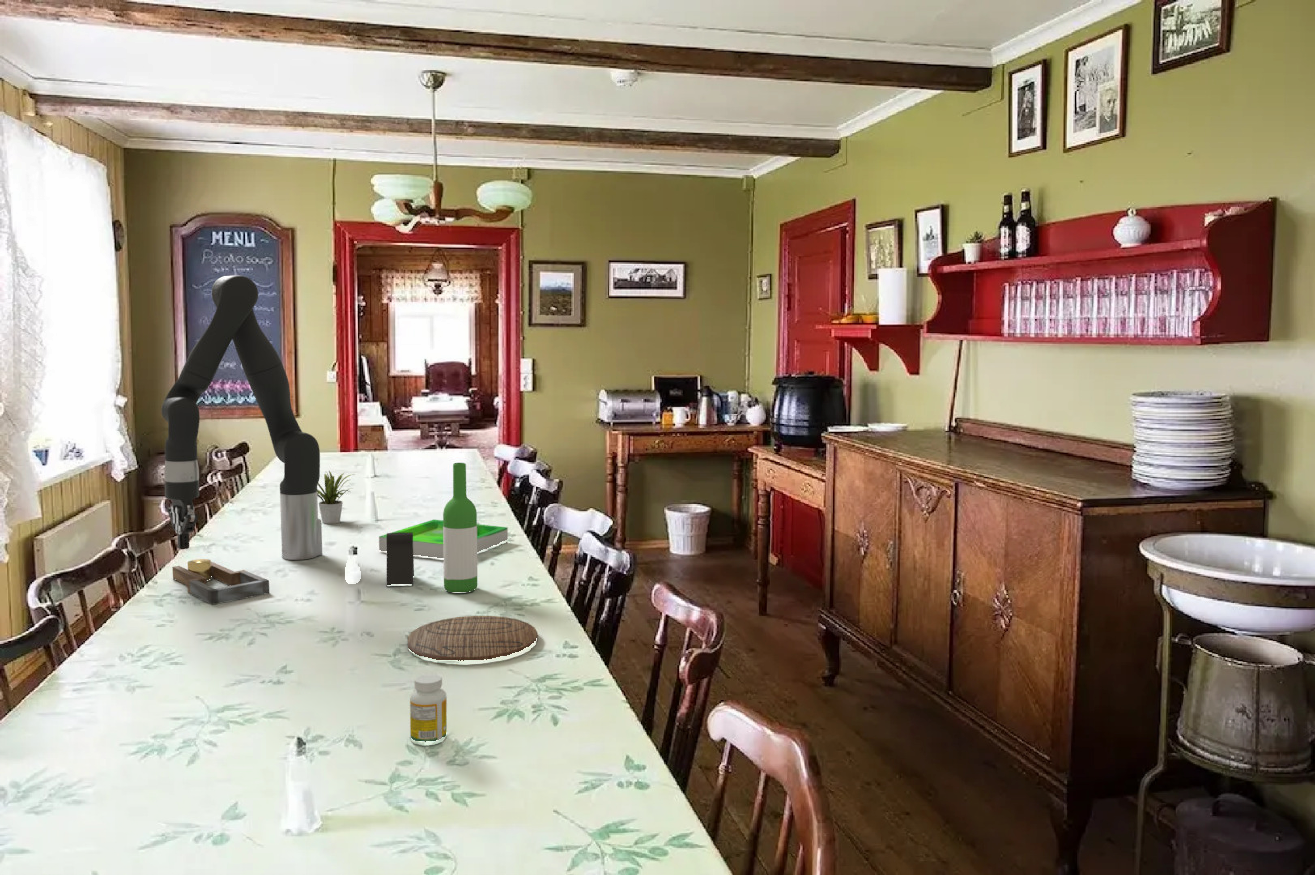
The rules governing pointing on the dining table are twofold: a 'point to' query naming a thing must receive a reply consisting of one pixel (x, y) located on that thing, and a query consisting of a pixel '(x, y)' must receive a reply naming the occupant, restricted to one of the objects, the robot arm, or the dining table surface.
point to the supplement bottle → (428, 709)
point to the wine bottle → (460, 537)
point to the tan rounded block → (201, 567)
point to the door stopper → (400, 558)
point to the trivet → (471, 638)
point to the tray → (431, 538)
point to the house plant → (331, 499)
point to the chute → (239, 580)
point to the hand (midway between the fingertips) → (183, 548)
